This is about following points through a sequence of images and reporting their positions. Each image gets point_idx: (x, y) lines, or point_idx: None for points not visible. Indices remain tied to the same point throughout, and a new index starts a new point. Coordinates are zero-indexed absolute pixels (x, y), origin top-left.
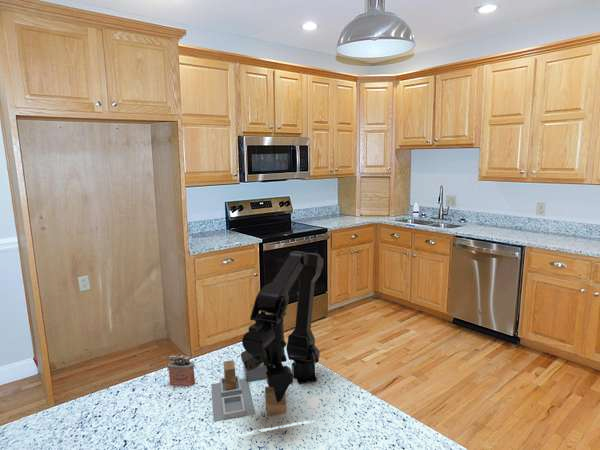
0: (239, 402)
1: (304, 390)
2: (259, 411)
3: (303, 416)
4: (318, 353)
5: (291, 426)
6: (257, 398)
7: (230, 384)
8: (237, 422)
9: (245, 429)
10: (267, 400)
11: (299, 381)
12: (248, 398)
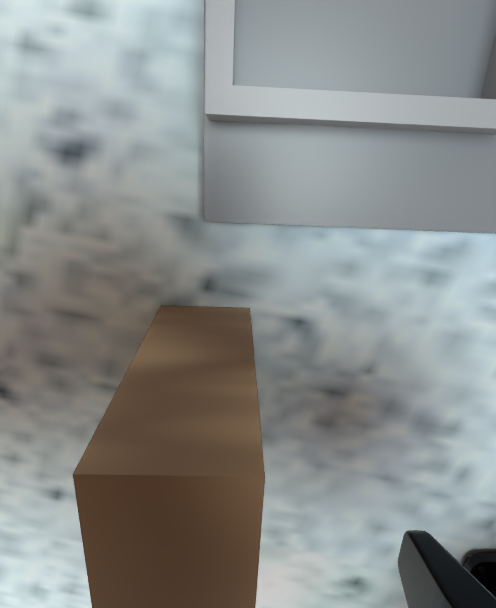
0: (449, 90)
1: (383, 569)
2: (277, 261)
3: None
4: None
5: (45, 433)
6: (455, 277)
7: None
8: (187, 29)
9: (69, 94)
10: (111, 403)
11: (477, 576)
12: (467, 197)
